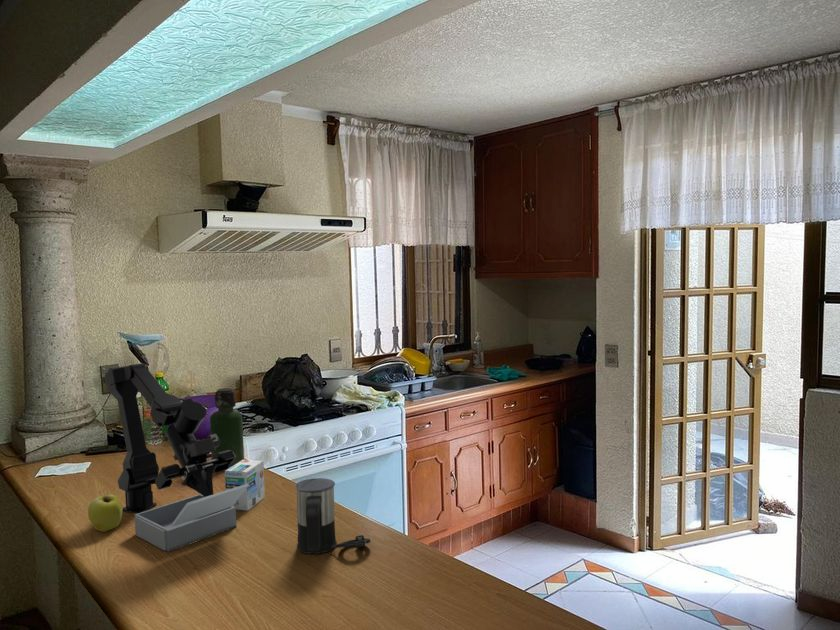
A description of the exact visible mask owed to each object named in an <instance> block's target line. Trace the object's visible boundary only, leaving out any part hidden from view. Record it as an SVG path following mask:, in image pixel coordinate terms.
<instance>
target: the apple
mask: <svg viewBox="0 0 840 630" xmlns="http://www.w3.org/2000/svg"><path fill="white" fill-rule="evenodd" d="M98 493H99V494H100V495H99V496H97V497H95V498H94V499H92V501H91V502H90V504H89V506H88V508H87V509H88V510H87V515H88V516H87V517H88V520H89V521H90V523H91V524H92V526H93V527H94V529H96V530H97V531H99V532H104V533H105V532H109V531H110V530H113V529H115V528H116V527H118V526H119V525H120V524H121V520H122V518H123V512H124V511H123V508H124V507H123V503H122V500H120V498H119V497H118V496H117V495H115V494H112V493H111V494H110V493H108V494H101V491H99V492H98Z"/></svg>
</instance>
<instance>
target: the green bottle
mask: <svg viewBox="0 0 840 630" xmlns="http://www.w3.org/2000/svg"><path fill="white" fill-rule="evenodd" d="M214 404H215V408H216V409H218V410H216V411H214V412H213V413H212V414H211V415H210V417H209V428H210V433H209V434H210V435H212V434H216V435H217V436H218V438H219V440H220V446H218V447H216V448H215V449H216V450H215V451H212V452H210V456H211V460H213V459H214V457H215V456H216V454H217V453H219V452H223V451H226V450H231V451H233V452H234V454H235V456H236V458H235V460H234V461H233V463H232V464H231V466H230V467H229V468H231V467H232V466H234V465H235V464H237V463H238V462H240V461H242V460H245V456H244V455H245V450H244V448H245V447H244V426H243V423H244V422H243V415H242V413H241V412H240V410H238V409H234V408H235V407H236V404H237V394H236V392H235V390H234V389H233V388H230V387H229V388H228V387H227V388H226V387H225V388H219V389H217V390H216V391H215V394H214Z"/></svg>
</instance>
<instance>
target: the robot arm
mask: <svg viewBox="0 0 840 630" xmlns="http://www.w3.org/2000/svg"><path fill="white" fill-rule="evenodd" d="M104 382H105V384H106V385H107V389H108V392H109V393H110V394H111V396H113V397H114V398H115V400H116V401H117V405H118V411H119V416H120V421H121V427H122V433H123V437H124V442H125V443H124V444H125V447H126V448H125V449H126V454H125V457H124V459H123V462H122V472H121V474H120V475H119V478H118V479H117V485H118V489H120V490H122V491H124V494H125V495H124V496H125V506H124V507H122V508H123V512H127V513H128V512H130V513H134V514H138V513H141V512H144V511H148V510H150V509H152V508H154V507H156V506H157V503H156V502H154V493H153V491H152V490H153V489H152V485H155V486H156V488H157V489H158V490H163V489H167V488H170V487H171V485H172V483H173V480H174V479H178V478H182V480H183V481H182V482H181V485H182V487H184V486H186V487H188V488H190V489H192V490H194V491H195V492H197V493H198V494H201V495H203V496H204V497H207V496H210V495H213V494H214V486H213V473H215V474H218V473H221V472H225V471H226V470H227V469H229V468H231V467H232V466H231V464H232V463H233V461H234V460H235V458H236V456H235V454H234V452H233V451H231V450H226V451H223V452H219V453H217V454H216V456H215V457H214V459H213V460H212V459H209V460H208V458H210V456H211V452H212V451H215V450H216V449H215V448H216V447H218V446H220V440H219V438H218V436H217V435H216V434H212V435H211V434H210V435H208V436H206V438H204V439H198V438H196V436H195V435H194V434H195V433H196V432H197V430H198V429H199V427H200V425H201V424H202V422H203V420H204V419H205V418H206V416H207V409H206V407H205V406H204V405H203V404H201V403H200V402H196V401H193V399H192V397H190V398H186V399H183V400H182V401H181V399H180V398H178V397H177V396H176V395H173V394H169V393H168V392H167V391H166V390H165V389H164V388H163V387H162V385H161V384H160V383H159V381H158V380H157V379H156V378H155V376H154V375H153V374H152V373H151V371H150V370H149V366H148V364H147V363H143V362H141V363H136V364H135V363H133V364H128V365H124V366H115V367H110V368H108V370H107V372H105V374H104ZM138 393H140V395H141V396H142V398H143V399H144V400H145V401H146V403H148V405H149V408H150V409H149V410H150V411H149V416H150V418H151V419H152V422H153V423H154V424H155V426H156V427H159V428H160V427H161V428H162V427H165V426H168V428H167V429H166V430H165V432H164V436H163V441H164V442H167V441H168V442H169V444H170V446H171V448H172V451H173V453H174V456H173V459H174V461H178V462H179V464H177V463H174V464H170V465H167V466H162V467H161V470H160V467H159V464H158V462H157V455H156V453H155V452H151V451H150V450H149V448H147V444H146V439H145V433H144V429H143V423H142V418H141V413H140V409H139V403H138V399H137V398H138V397H137V396H138ZM230 466H231V467H230Z"/></svg>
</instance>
